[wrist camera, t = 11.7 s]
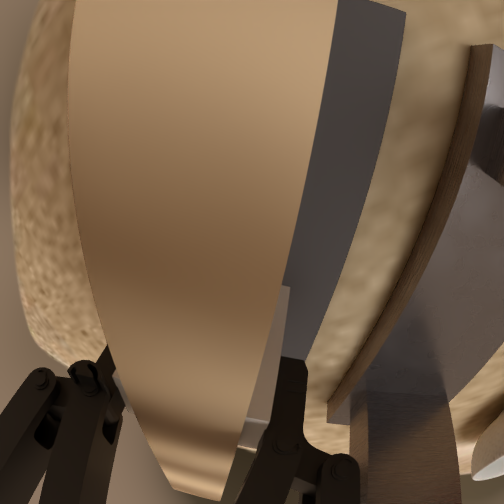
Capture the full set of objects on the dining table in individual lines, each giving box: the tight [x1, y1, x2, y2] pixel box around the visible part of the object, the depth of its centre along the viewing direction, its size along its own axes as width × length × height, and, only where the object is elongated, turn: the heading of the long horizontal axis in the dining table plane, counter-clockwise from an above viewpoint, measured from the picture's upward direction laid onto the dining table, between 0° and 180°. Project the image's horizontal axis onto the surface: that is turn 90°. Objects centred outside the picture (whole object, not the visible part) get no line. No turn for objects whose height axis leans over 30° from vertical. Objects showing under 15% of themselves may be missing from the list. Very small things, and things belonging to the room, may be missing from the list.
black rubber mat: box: [281, 0, 406, 362], centre depth 16 cm, size 28×10×1 cm, turn 172°
